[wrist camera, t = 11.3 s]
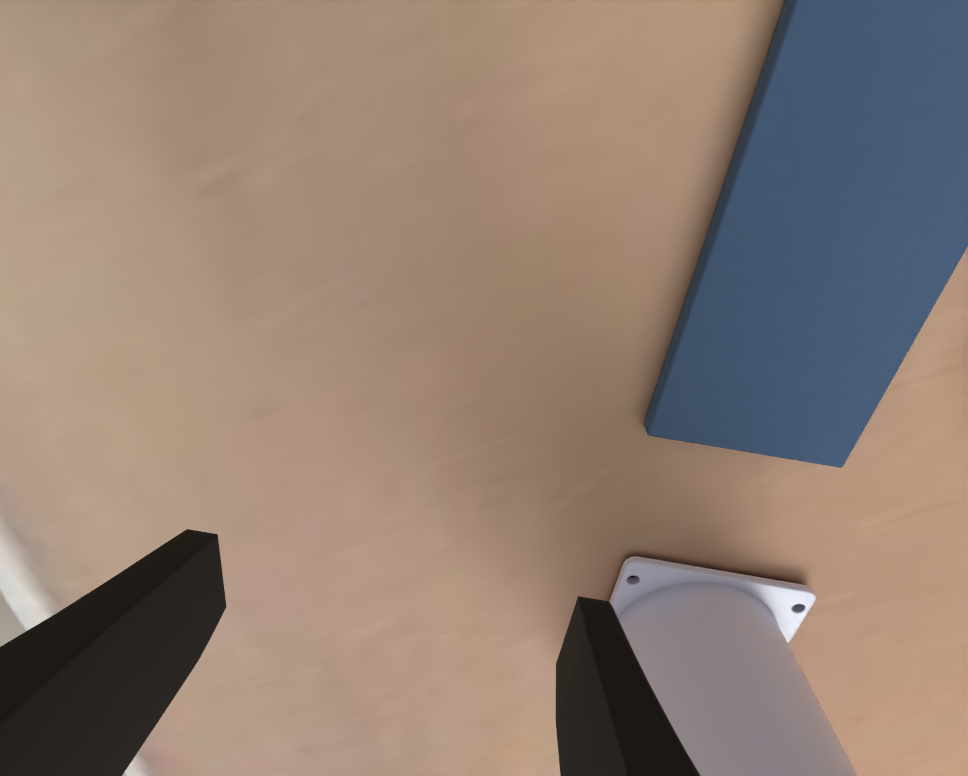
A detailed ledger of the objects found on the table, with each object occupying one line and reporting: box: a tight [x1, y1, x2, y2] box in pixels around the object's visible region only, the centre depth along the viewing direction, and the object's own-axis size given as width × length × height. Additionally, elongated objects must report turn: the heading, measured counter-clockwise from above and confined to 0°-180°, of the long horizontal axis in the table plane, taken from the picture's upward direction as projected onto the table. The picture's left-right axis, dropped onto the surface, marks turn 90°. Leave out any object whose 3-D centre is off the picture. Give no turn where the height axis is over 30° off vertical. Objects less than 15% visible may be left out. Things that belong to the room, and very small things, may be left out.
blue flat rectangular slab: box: [644, 0, 968, 467], centre depth 15 cm, size 14×7×1 cm, turn 172°
